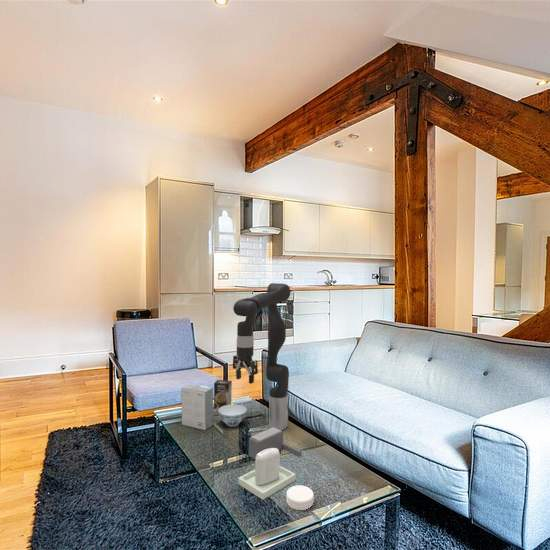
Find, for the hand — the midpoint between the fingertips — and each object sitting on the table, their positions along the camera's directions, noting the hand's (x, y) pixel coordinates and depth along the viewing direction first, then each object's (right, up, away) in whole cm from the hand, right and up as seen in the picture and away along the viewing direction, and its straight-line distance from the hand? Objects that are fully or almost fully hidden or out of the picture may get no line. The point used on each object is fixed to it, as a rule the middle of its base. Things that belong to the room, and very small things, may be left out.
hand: (244, 381), depth 171 cm
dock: (+13, -33, -1) cm, 36 cm away
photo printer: (+11, -34, -20) cm, 41 cm away
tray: (+10, -34, -21) cm, 41 cm away
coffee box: (-17, -31, +53) cm, 64 cm away
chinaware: (-9, -32, +32) cm, 46 cm away
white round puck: (+23, -35, -32) cm, 53 cm away
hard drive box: (-27, -32, +31) cm, 52 cm away
